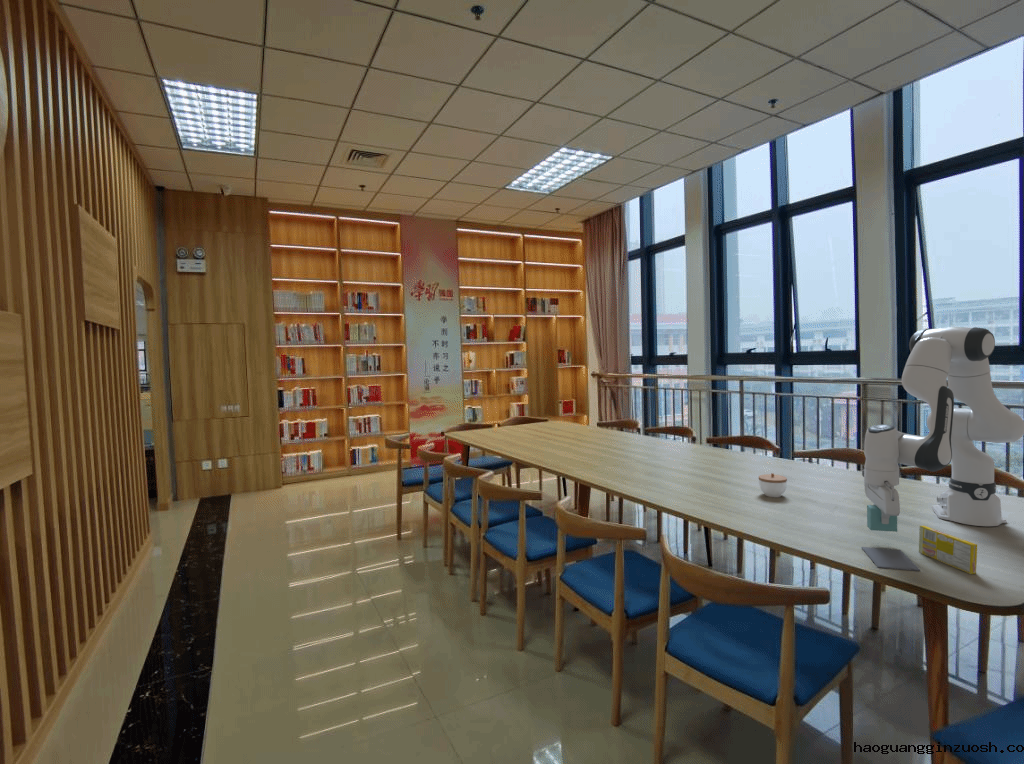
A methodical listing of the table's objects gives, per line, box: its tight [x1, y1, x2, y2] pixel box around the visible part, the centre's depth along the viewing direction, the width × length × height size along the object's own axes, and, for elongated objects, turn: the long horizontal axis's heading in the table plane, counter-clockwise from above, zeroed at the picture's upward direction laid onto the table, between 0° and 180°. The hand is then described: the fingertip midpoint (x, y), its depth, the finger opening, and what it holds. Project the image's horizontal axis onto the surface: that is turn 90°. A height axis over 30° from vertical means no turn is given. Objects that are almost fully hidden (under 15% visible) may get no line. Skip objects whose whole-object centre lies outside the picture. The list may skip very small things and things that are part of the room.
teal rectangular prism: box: [866, 504, 898, 533], centre depth 163 cm, size 4×7×7 cm, turn 70°
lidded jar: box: [758, 472, 788, 498], centre depth 220 cm, size 11×11×9 cm
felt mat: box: [861, 546, 921, 572], centre depth 152 cm, size 15×10×1 cm, turn 161°
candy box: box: [918, 525, 978, 575], centre depth 149 cm, size 16×2×8 cm, turn 6°
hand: (881, 520), depth 163 cm, fingers closed on teal rectangular prism, 3 cm apart
